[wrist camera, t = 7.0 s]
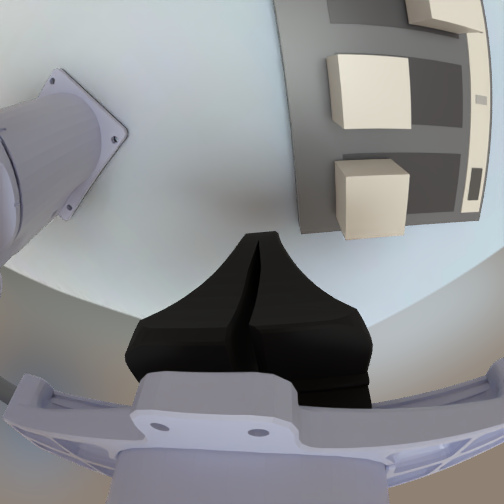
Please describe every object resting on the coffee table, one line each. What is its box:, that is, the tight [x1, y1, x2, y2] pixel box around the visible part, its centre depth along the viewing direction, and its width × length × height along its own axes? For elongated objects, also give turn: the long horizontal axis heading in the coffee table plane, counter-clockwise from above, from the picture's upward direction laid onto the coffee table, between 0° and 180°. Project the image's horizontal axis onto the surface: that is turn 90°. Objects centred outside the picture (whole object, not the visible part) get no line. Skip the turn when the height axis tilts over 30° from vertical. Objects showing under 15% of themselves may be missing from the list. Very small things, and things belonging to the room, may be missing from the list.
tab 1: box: [326, 54, 411, 129], centre depth 13 cm, size 4×4×3 cm
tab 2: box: [335, 159, 410, 240], centre depth 16 cm, size 4×4×3 cm
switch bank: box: [273, 0, 492, 234], centre depth 14 cm, size 14×18×2 cm
